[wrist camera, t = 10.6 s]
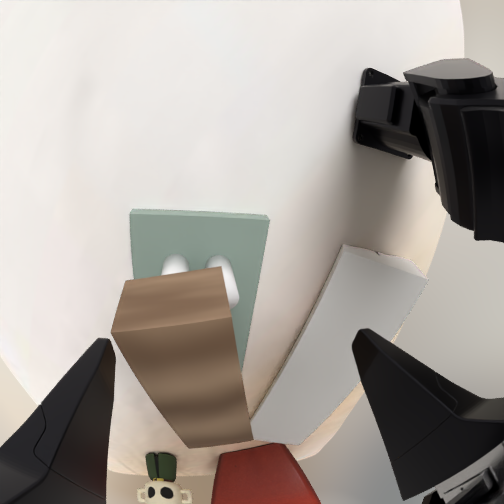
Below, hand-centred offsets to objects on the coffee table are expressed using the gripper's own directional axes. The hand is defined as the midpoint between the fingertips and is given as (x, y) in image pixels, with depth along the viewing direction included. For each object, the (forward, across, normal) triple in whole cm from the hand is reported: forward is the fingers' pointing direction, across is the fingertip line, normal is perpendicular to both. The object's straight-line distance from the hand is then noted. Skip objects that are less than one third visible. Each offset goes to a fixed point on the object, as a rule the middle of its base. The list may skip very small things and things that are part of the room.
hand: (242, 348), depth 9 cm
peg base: (+13, +2, +10) cm, 16 cm away
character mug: (+12, +10, +49) cm, 51 cm away
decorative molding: (+14, -13, +20) cm, 27 cm away
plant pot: (+13, -9, +52) cm, 55 cm away
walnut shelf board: (+8, +1, +10) cm, 13 cm away
